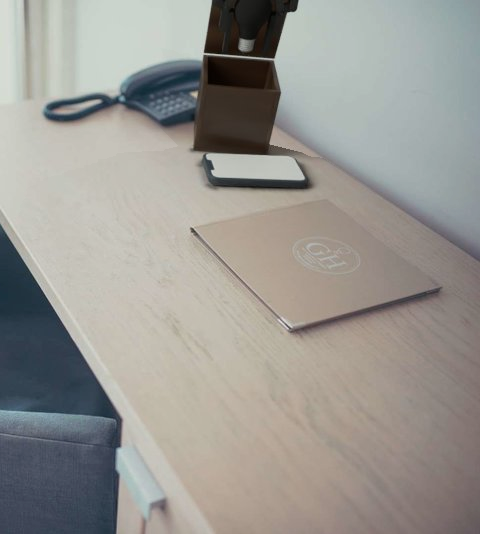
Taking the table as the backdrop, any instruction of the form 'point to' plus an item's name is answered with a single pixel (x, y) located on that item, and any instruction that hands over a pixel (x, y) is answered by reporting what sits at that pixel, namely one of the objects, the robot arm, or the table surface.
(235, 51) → the lid
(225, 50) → the robot arm
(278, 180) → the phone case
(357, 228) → the table surface
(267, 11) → the light bulb
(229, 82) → the chest
